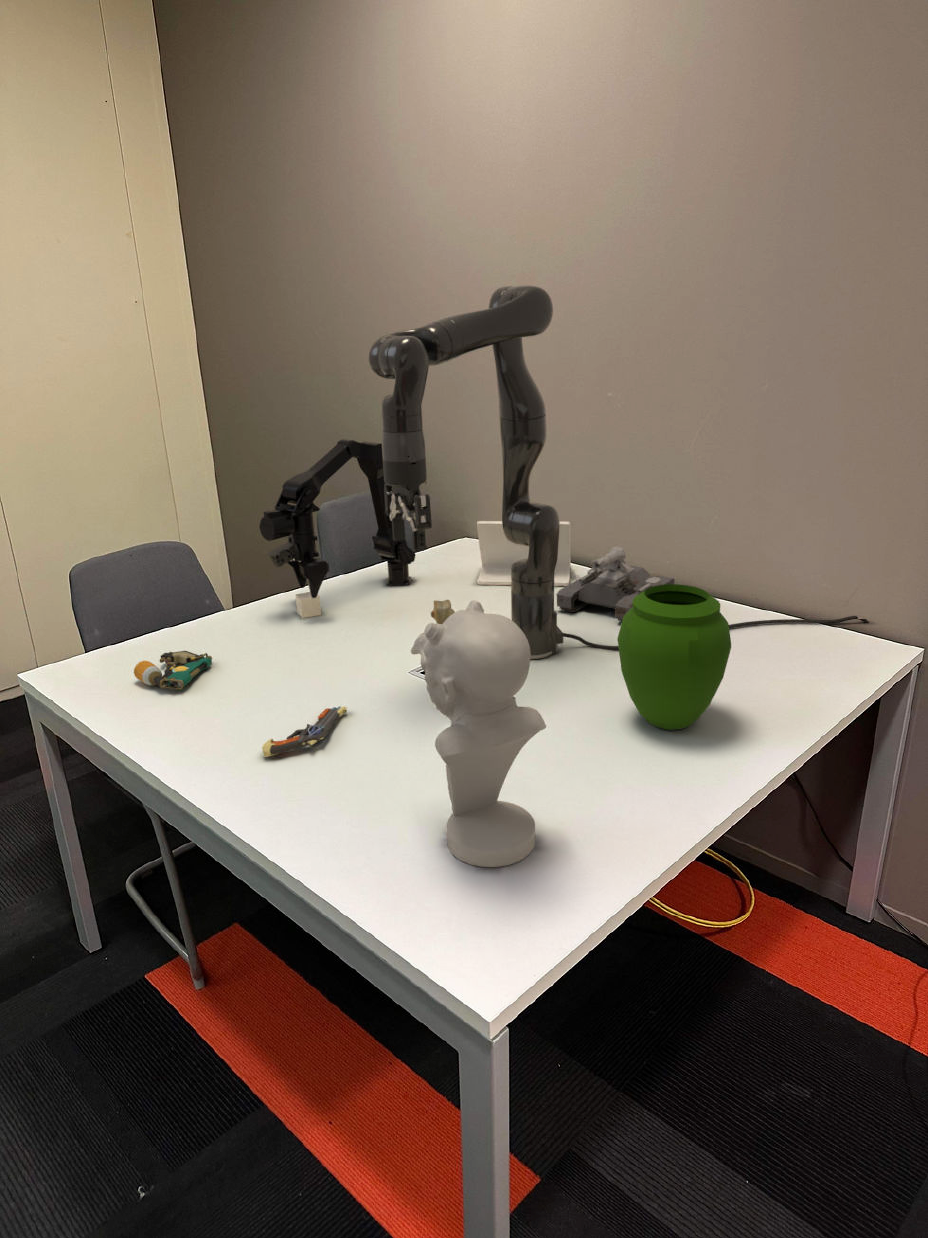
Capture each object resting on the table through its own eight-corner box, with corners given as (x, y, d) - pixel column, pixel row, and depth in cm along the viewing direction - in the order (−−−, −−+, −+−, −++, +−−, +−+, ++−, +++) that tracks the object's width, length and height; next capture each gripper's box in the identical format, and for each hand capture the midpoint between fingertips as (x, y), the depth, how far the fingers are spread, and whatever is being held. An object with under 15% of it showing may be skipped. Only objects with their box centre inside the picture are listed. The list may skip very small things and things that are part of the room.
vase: (737, 711, 158) (749, 586, 150) (704, 757, 143) (715, 621, 134) (638, 689, 168) (643, 571, 160) (597, 730, 153) (601, 602, 144)
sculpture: (458, 662, 183) (456, 596, 178) (460, 676, 176) (457, 608, 171) (431, 663, 183) (428, 597, 177) (431, 677, 176) (428, 609, 171)
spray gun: (177, 659, 191) (231, 671, 185) (120, 684, 176) (176, 698, 171) (176, 641, 190) (230, 653, 184) (118, 665, 175) (174, 678, 169)
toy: (603, 584, 229) (605, 530, 224) (673, 597, 218) (677, 540, 213) (555, 612, 210) (556, 553, 205) (630, 627, 199) (633, 566, 194)
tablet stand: (569, 585, 229) (570, 524, 223) (476, 584, 232) (475, 523, 226) (570, 566, 246) (571, 508, 240) (484, 564, 249) (483, 507, 243)
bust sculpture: (481, 772, 140) (476, 569, 128) (565, 848, 120) (569, 617, 108) (392, 800, 134) (378, 588, 121) (465, 886, 114) (457, 642, 101)
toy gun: (257, 746, 146) (311, 744, 144) (298, 704, 164) (347, 701, 161) (260, 761, 146) (314, 759, 144) (300, 717, 164) (349, 715, 162)
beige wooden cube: (315, 609, 218) (313, 591, 216) (321, 614, 214) (319, 596, 212) (297, 612, 216) (295, 594, 214) (302, 618, 212) (300, 599, 210)
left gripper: (259, 528, 212) (266, 588, 217) (281, 545, 196) (287, 609, 201) (302, 522, 216) (308, 580, 222) (327, 538, 201) (332, 601, 206)
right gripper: (368, 452, 153) (374, 540, 159) (402, 464, 141) (407, 558, 147) (405, 448, 157) (410, 533, 162) (442, 459, 145) (445, 551, 151)
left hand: (308, 592), depth 213 cm, fingers open, 9 cm apart
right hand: (409, 545), depth 155 cm, fingers open, 8 cm apart
